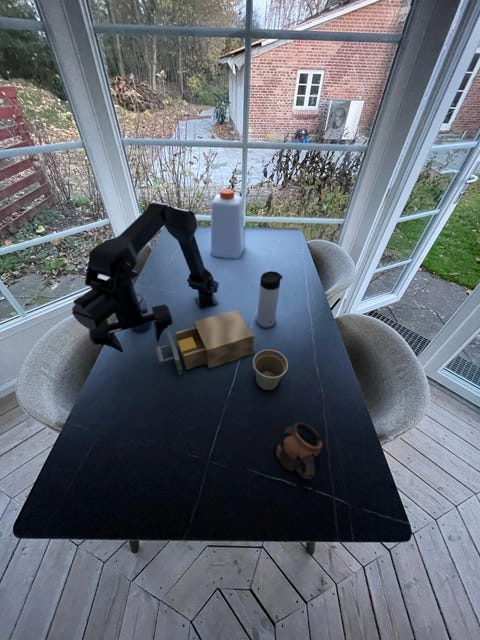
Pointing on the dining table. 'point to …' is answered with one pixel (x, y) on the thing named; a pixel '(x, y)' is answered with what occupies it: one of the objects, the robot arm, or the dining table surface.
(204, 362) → the drawer
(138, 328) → the soda can
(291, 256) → the dining table surface
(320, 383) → the dining table surface
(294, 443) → the pottery mug
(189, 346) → the block
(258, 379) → the flower pot
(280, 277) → the travel mug
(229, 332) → the cabinet
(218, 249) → the plastic bottle
